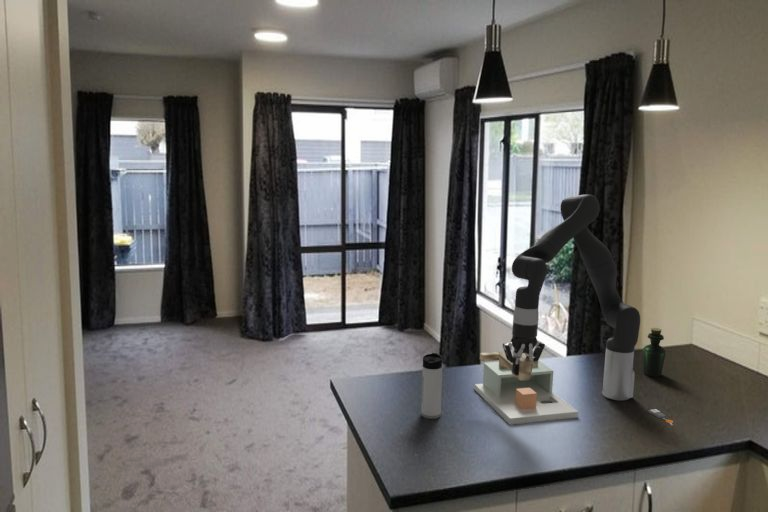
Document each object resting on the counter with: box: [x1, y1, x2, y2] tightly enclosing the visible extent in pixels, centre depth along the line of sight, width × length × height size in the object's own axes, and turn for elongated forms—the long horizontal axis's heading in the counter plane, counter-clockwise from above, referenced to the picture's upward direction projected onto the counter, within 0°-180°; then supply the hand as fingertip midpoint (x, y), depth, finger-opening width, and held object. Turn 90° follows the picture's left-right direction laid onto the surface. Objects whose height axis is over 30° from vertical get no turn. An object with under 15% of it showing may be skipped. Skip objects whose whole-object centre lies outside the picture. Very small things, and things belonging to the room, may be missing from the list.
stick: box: [498, 360, 538, 369], centre depth 215 cm, size 14×2×2 cm, turn 104°
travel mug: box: [421, 352, 443, 420], centre depth 196 cm, size 6×7×20 cm
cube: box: [515, 388, 537, 409], centre depth 201 cm, size 5×5×5 cm
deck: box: [473, 359, 579, 425], centre depth 208 cm, size 24×29×10 cm
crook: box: [479, 351, 532, 381], centre depth 196 cm, size 9×19×6 cm, turn 15°
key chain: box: [647, 408, 674, 426], centre depth 197 cm, size 13×4×2 cm, turn 19°
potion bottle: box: [642, 327, 667, 378], centre depth 236 cm, size 8×8×18 cm
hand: (521, 374), depth 191 cm, fingers closed on crook, 3 cm apart
